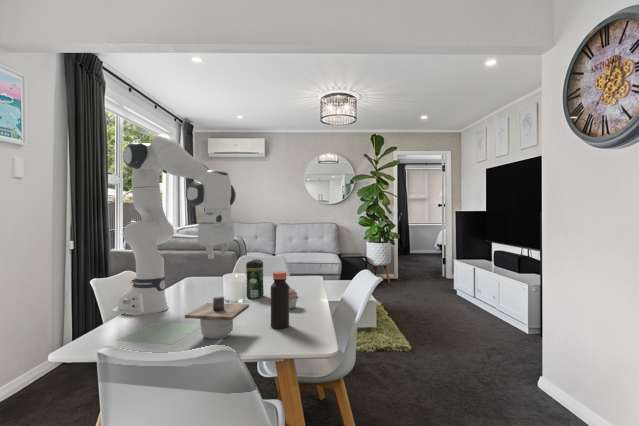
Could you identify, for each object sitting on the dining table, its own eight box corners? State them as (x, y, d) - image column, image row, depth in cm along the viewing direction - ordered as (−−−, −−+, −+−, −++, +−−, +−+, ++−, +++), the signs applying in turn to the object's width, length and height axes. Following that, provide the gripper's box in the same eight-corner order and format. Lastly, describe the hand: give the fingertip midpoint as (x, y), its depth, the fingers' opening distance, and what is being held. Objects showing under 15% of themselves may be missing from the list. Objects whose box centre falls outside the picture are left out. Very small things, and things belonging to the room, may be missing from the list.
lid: (184, 318, 118) (184, 302, 118) (207, 305, 134) (207, 292, 134) (231, 320, 116) (231, 304, 116) (248, 307, 132) (248, 293, 132)
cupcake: (299, 310, 157) (299, 287, 156) (277, 310, 156) (277, 287, 156) (298, 304, 166) (298, 282, 166) (278, 305, 165) (278, 283, 165)
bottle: (284, 330, 130) (284, 274, 130) (267, 328, 132) (267, 273, 132) (292, 324, 137) (291, 271, 136) (275, 322, 139) (275, 270, 139)
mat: (116, 342, 119) (116, 340, 119) (154, 323, 138) (154, 322, 138) (171, 346, 115) (171, 344, 115) (203, 326, 135) (203, 325, 135)
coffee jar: (249, 294, 187) (249, 258, 187) (265, 294, 186) (264, 258, 186) (244, 299, 177) (244, 261, 177) (260, 299, 176) (260, 261, 176)
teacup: (224, 343, 117) (224, 319, 117) (193, 341, 119) (193, 317, 119) (241, 329, 131) (241, 307, 131) (213, 328, 133) (213, 306, 133)
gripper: (223, 216, 136) (222, 253, 137) (194, 217, 116) (194, 260, 116) (238, 216, 135) (238, 253, 135) (212, 217, 115) (212, 261, 115)
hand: (217, 257), depth 126 cm, fingers open, 8 cm apart
